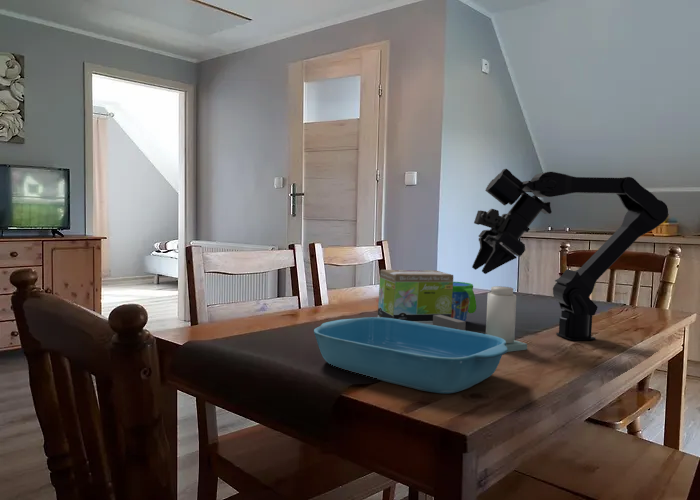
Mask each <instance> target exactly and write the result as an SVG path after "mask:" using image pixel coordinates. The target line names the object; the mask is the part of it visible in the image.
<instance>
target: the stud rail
mask: <svg viewBox="0 0 700 500" xmlns="http://www.w3.org/2000/svg"><path fill="white" fill-rule="evenodd" d="M466 323H467V322H466V321H462V320H458V319H454V318H451V317H447V316H444V315H433V325H436V326H442V327H447V328H453V329H459V330H465V331H466ZM505 346H506V347H507V349H508V351H507V352H506V353H509V352H519V351H525V350H528V343H525V342H523V341H518V340H515V339H514V342H513V343H506V345H505Z"/></svg>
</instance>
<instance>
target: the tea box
mask: <svg viewBox="0 0 700 500" xmlns="http://www.w3.org/2000/svg"><path fill="white" fill-rule="evenodd" d="M453 282H454V274H450V273H447V272H443V271H439V270H433V269H432V270H431V269H430V270H429V269H428V270H426V269H425V270H424V269H423V270H422V269H380V272H379V286H378V287H379V288H378V289H379V290H378V305H377V308H378V309H377V317H383V318H393V319H400V320H406V321H413V322H418V323H424V324H430V325H433V315H444V316H447V317H451V312H452V294H453Z"/></svg>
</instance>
